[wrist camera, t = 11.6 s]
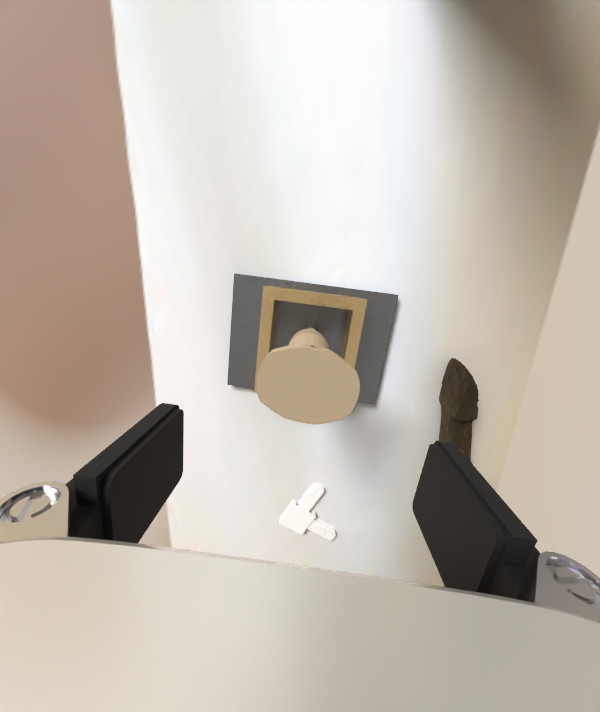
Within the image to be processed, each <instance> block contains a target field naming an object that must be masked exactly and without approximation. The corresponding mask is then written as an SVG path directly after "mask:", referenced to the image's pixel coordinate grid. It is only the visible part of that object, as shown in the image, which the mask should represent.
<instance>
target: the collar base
mask: <svg viewBox="0 0 600 712" xmlns="http://www.w3.org/2000/svg"><path fill="white" fill-rule="evenodd" d="M397 299H398V295H394V294H386V293H379V292H371V291H364V290H356V289H348V288H341V287H333V286H325V285H318V284H310V283H302V282H295V281H287V280H279V279H272V278H264V277H256V276H249V275H241V274H234V286H233V303H232V319H231V336H230V352H229V368H228V385H235V386H243V387H250V388H254V392H257V388H256V381H257V374H258V371H259V368H260V366H261V363H262V362H263V360H264V359H265V357H266V356H267V355H268V354H269V353H270V352H271V351H272V350H273V349H276V348H280V347H284V346H288V345H289V343H290V340H291V339H292V337H293V336H294V335H295V334H296V333H297V332H298V331H300V330H303V329H308V328H314V329H315V330H316V331H318V332H319V333H321V334H322V335H323V337H324V338H325V339H326V341H327V344H328V347H329V350H331V351H333V352H334V353H336V354H337V355H339V356H340V357H341V358H343V359H344V360H345V361H347V362H348V363H349V364H350V365H352V366H353V367H354V368H355V370H356V372H357V374H358V377H359V382H360V392H359V396H358V400H357V402H361V403H369V404H375V401H376V396H377V392H378V387H379V382H380V378H381V373H382V369H383V364H384V359H385V355H386V350H387V345H388V341H389V336H390V331H391V327H392V322H393V317H394V313H395V308H396V303H397Z"/></svg>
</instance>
